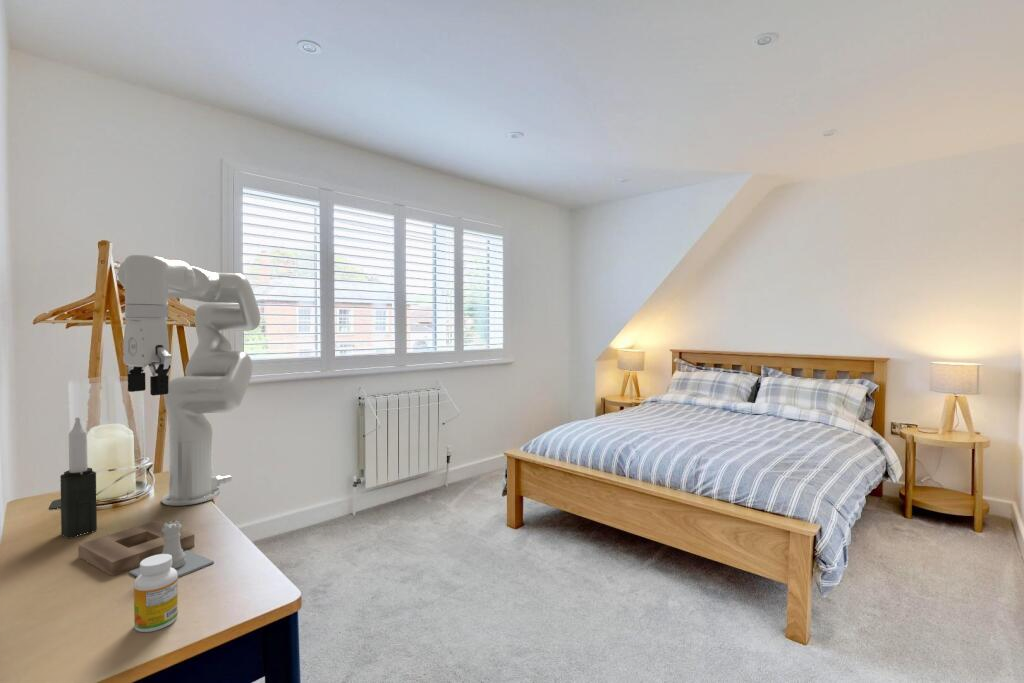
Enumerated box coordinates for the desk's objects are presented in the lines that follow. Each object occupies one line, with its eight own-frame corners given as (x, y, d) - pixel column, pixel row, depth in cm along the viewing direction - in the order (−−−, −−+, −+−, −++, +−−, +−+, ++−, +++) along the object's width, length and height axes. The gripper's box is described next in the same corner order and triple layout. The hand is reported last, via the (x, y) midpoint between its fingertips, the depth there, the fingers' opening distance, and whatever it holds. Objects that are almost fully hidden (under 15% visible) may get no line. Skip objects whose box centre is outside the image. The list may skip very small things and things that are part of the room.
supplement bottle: (135, 619, 76) (134, 557, 76) (177, 608, 79) (177, 548, 79) (133, 637, 72) (132, 571, 72) (178, 625, 75) (177, 561, 75)
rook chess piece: (171, 572, 90) (171, 529, 89) (151, 570, 91) (150, 526, 90) (192, 561, 94) (192, 519, 94) (172, 558, 95) (172, 517, 95)
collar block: (159, 531, 108) (158, 520, 108) (194, 546, 101) (194, 534, 101) (78, 557, 96) (78, 544, 96) (112, 576, 89) (112, 562, 89)
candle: (68, 539, 104) (66, 420, 103) (59, 533, 106) (57, 417, 106) (98, 530, 108) (97, 416, 107) (89, 525, 111) (87, 414, 110)
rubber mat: (188, 552, 99) (188, 550, 99) (213, 563, 94) (213, 561, 94) (129, 573, 90) (129, 571, 90) (154, 586, 86) (154, 584, 86)
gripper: (107, 313, 108) (108, 391, 108) (147, 313, 99) (148, 398, 100) (146, 314, 114) (147, 388, 115) (187, 314, 106) (188, 394, 106)
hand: (147, 392), depth 107 cm, fingers open, 9 cm apart
